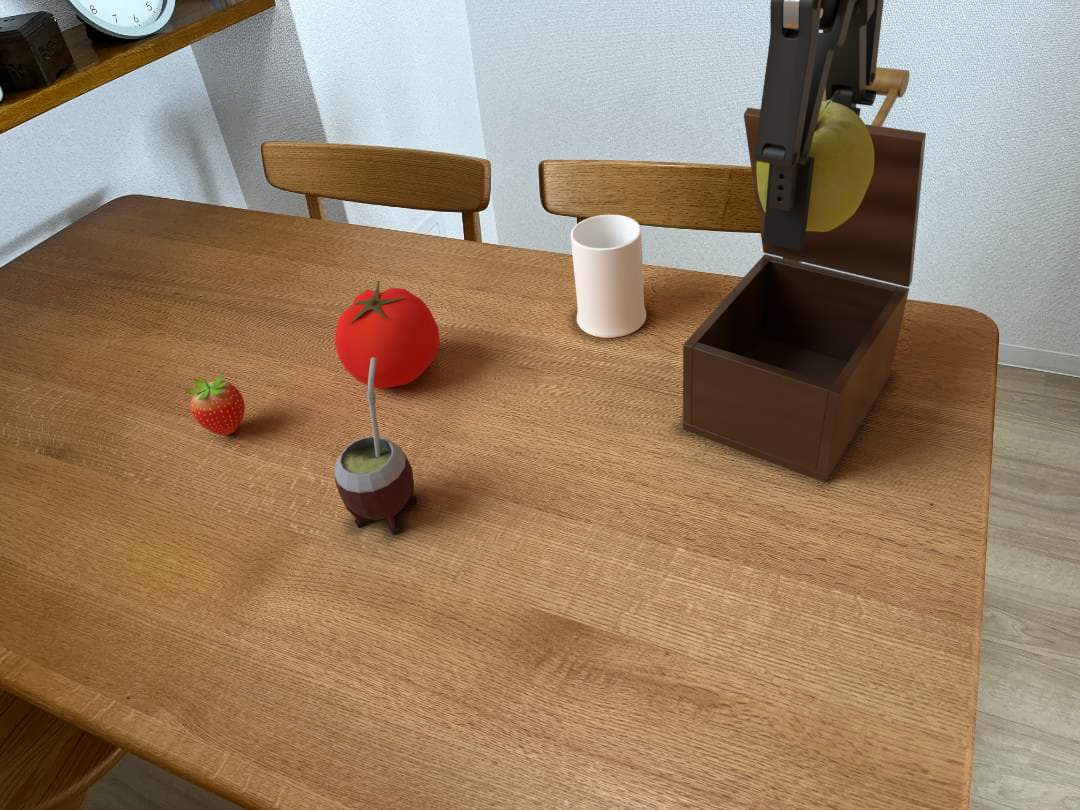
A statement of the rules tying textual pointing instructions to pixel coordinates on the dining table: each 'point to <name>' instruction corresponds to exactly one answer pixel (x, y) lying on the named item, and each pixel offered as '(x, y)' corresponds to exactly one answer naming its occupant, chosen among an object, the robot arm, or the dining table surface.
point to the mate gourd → (374, 474)
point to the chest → (791, 363)
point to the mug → (608, 275)
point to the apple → (833, 167)
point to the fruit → (217, 406)
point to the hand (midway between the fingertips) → (806, 216)
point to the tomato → (387, 337)
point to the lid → (868, 200)
